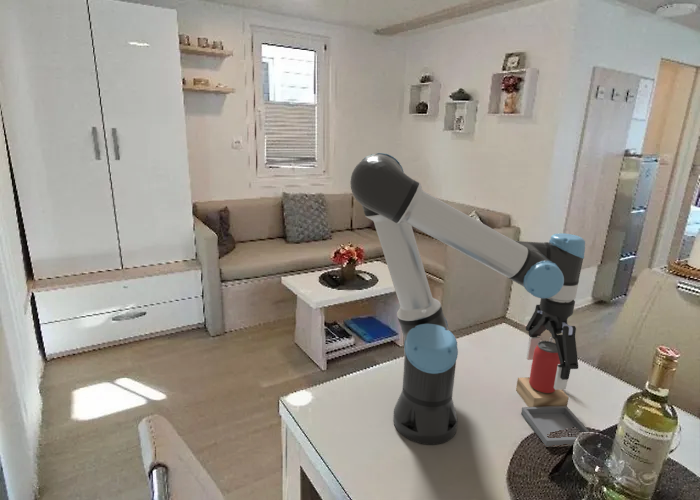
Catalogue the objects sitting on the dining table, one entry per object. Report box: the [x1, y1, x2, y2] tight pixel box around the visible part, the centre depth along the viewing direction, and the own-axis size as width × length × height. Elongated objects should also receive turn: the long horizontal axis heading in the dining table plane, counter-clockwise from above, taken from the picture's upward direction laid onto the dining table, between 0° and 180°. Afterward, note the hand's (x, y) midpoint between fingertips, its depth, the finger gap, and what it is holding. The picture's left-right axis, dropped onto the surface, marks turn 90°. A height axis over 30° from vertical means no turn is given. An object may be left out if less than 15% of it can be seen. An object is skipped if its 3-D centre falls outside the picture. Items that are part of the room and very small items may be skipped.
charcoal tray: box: [520, 405, 590, 446], centre depth 99 cm, size 12×12×2 cm
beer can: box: [529, 340, 560, 393], centre depth 107 cm, size 7×7×12 cm
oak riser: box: [515, 376, 570, 407], centre depth 109 cm, size 9×9×4 cm
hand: (544, 373), depth 108 cm, fingers open, 13 cm apart
